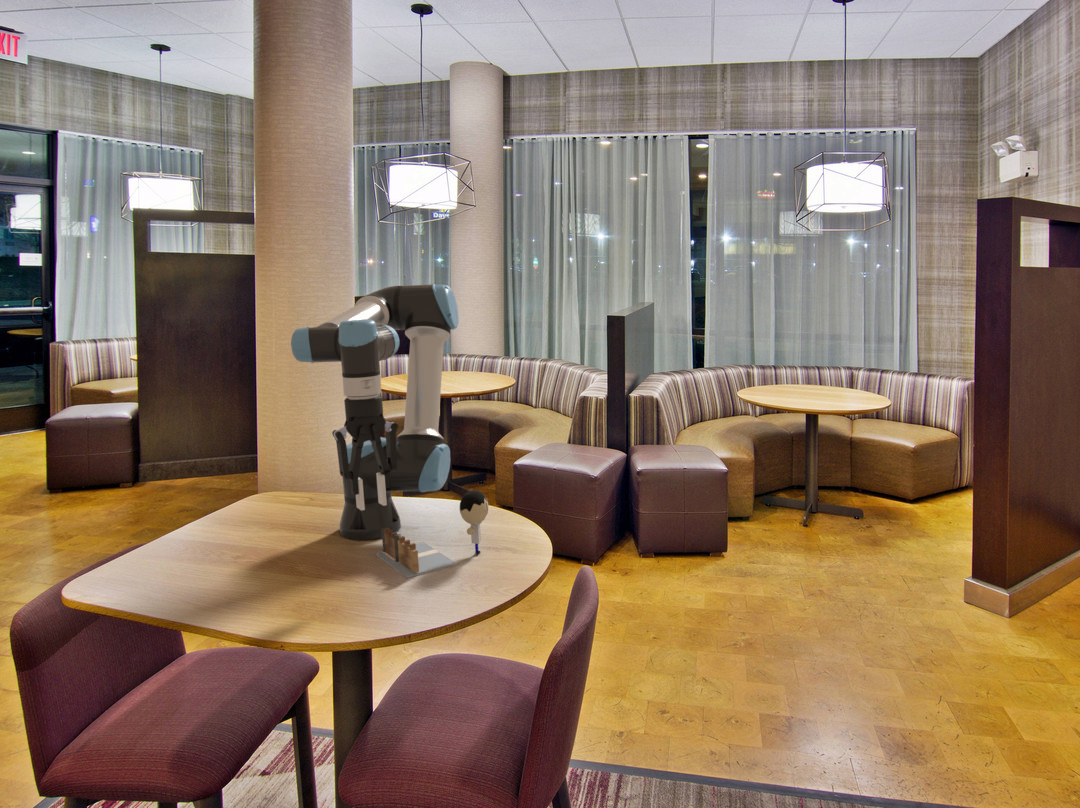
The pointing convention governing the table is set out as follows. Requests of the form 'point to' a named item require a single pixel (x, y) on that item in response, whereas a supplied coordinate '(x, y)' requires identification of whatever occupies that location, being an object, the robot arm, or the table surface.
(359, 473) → the robot arm
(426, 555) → the card
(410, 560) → the notched wooden bar
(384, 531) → the fence fixed
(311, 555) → the table surface
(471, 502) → the toy
